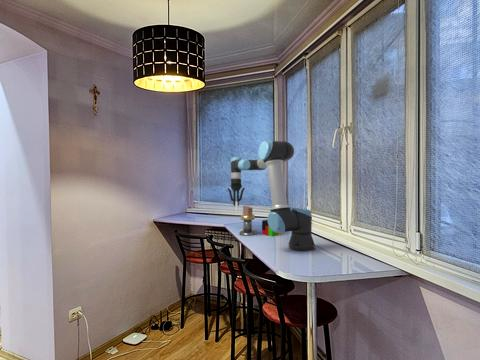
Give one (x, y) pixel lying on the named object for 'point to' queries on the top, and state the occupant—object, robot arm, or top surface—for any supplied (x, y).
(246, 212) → the coupling
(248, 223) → the post
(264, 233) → the puzzle toy
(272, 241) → the top surface
